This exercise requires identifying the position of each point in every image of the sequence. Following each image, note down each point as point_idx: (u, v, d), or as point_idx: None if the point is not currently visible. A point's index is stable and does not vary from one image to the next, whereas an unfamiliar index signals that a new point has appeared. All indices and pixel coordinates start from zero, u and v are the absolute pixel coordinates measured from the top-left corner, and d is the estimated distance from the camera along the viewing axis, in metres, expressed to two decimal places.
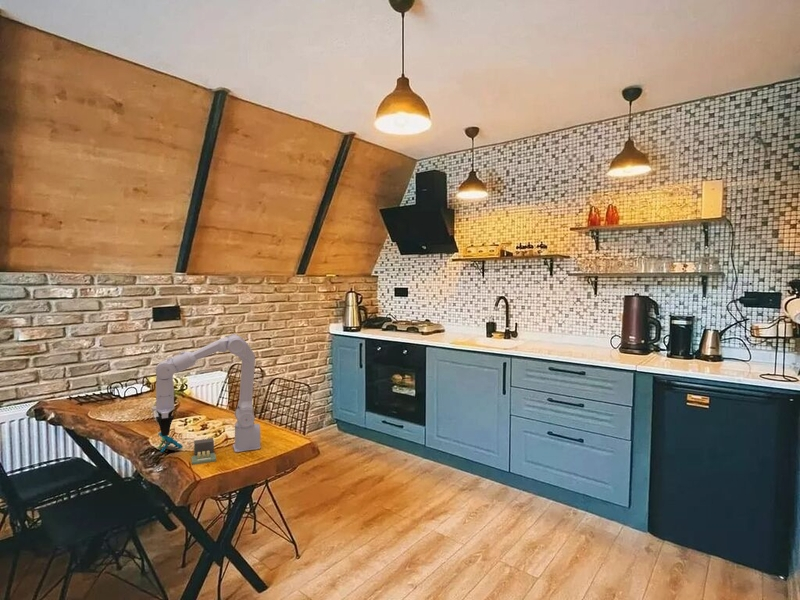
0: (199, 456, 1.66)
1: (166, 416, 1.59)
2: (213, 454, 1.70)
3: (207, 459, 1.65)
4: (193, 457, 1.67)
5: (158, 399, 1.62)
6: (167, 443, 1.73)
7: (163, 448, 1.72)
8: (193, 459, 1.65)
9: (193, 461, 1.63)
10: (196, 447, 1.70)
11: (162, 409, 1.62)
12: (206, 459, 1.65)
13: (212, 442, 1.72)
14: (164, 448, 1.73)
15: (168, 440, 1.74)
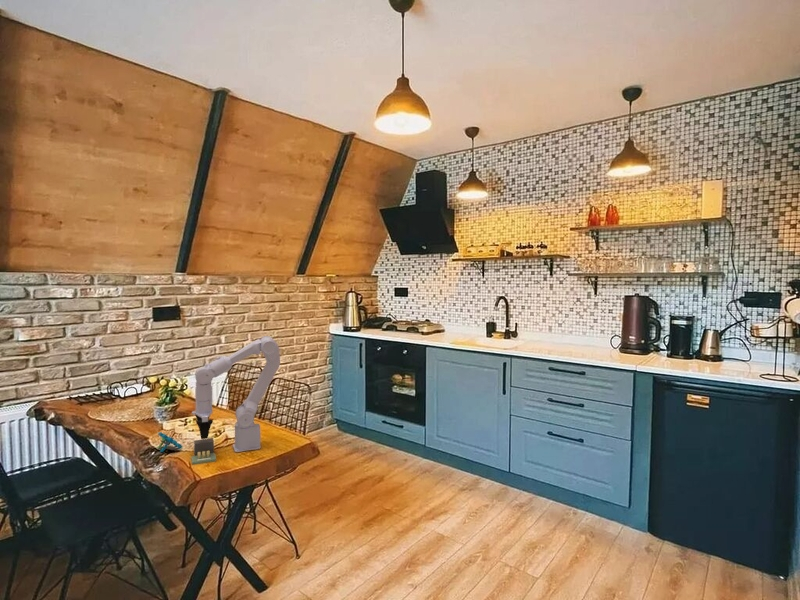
0: (199, 456, 1.66)
1: (206, 420, 1.66)
2: (213, 454, 1.70)
3: (207, 459, 1.65)
4: (193, 457, 1.67)
5: (198, 404, 1.69)
6: (167, 443, 1.73)
7: (163, 448, 1.72)
8: (193, 459, 1.65)
9: (193, 461, 1.63)
10: (196, 447, 1.70)
11: (201, 413, 1.69)
12: (206, 459, 1.65)
13: (212, 442, 1.72)
14: (164, 448, 1.72)
15: (168, 440, 1.74)
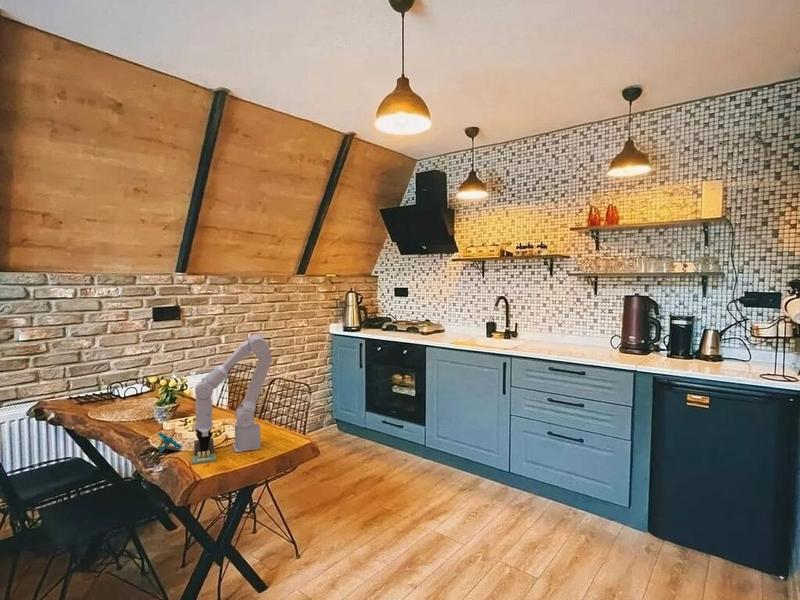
0: (199, 456, 1.66)
1: (206, 434, 1.66)
2: (213, 454, 1.70)
3: (207, 459, 1.65)
4: (193, 457, 1.67)
5: (198, 418, 1.69)
6: (166, 443, 1.73)
7: (162, 448, 1.72)
8: (193, 459, 1.65)
9: (193, 461, 1.63)
10: (196, 447, 1.70)
11: (202, 427, 1.69)
12: (206, 459, 1.65)
13: (212, 442, 1.72)
14: (163, 448, 1.72)
15: (167, 440, 1.73)
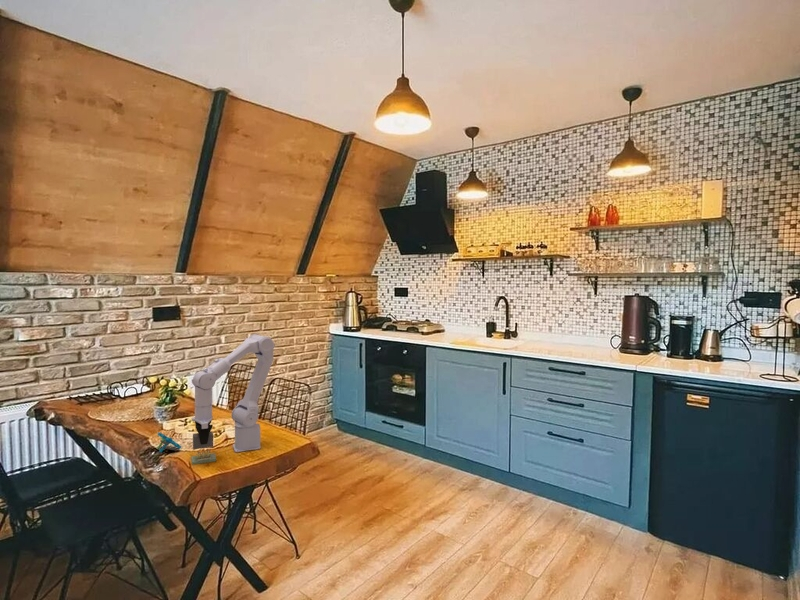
0: (199, 456, 1.66)
1: (206, 427, 1.59)
2: (213, 454, 1.70)
3: (207, 459, 1.65)
4: (193, 457, 1.67)
5: (197, 410, 1.63)
6: (166, 443, 1.73)
7: (162, 448, 1.72)
8: (193, 459, 1.65)
9: (193, 461, 1.63)
10: (195, 440, 1.63)
11: (201, 419, 1.63)
12: (206, 459, 1.65)
13: (211, 435, 1.66)
14: (163, 448, 1.72)
15: (167, 440, 1.73)
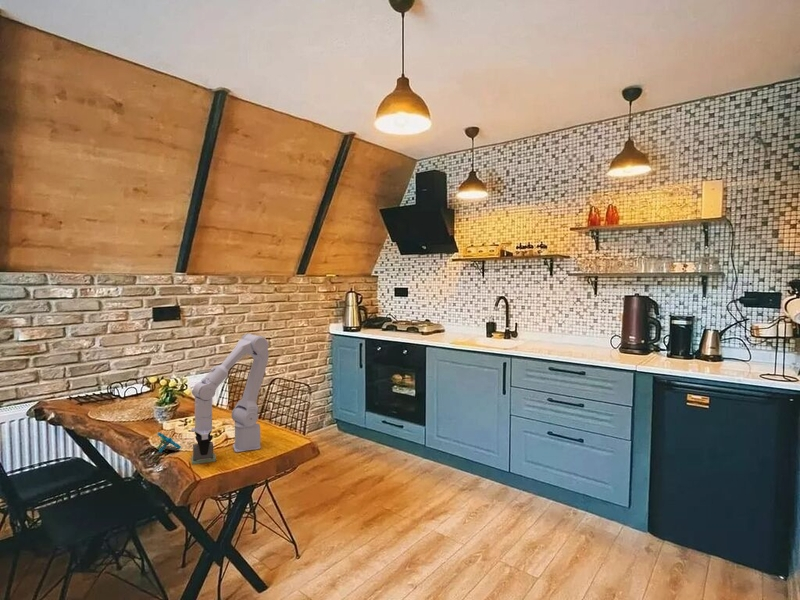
0: None
1: (206, 437, 1.60)
2: (213, 454, 1.70)
3: (207, 459, 1.65)
4: None
5: (197, 420, 1.63)
6: (165, 443, 1.73)
7: (161, 448, 1.72)
8: None
9: (193, 461, 1.63)
10: (195, 451, 1.64)
11: (201, 430, 1.63)
12: (206, 459, 1.65)
13: (211, 446, 1.66)
14: (162, 448, 1.72)
15: (166, 440, 1.73)
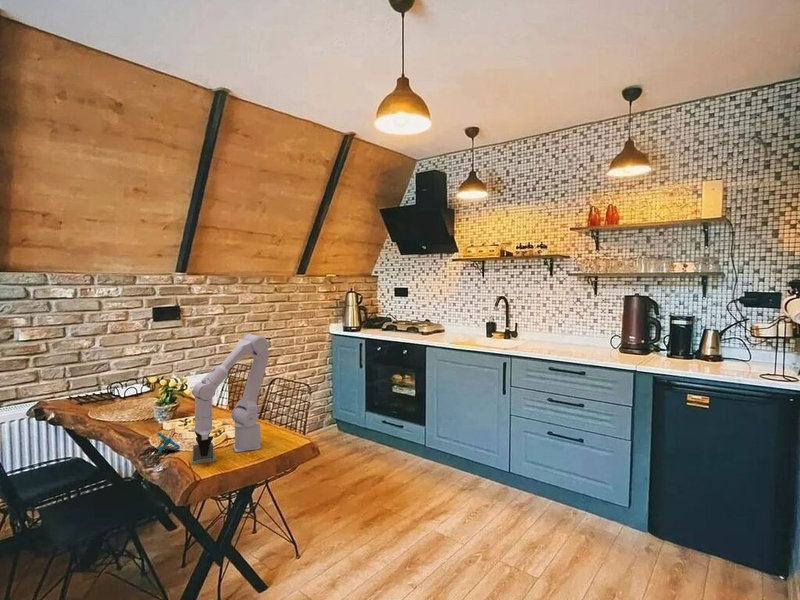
0: None
1: (206, 437, 1.60)
2: (213, 454, 1.70)
3: (207, 459, 1.65)
4: None
5: (197, 421, 1.63)
6: (165, 443, 1.73)
7: (161, 448, 1.72)
8: None
9: (193, 461, 1.63)
10: (195, 452, 1.64)
11: (201, 430, 1.63)
12: (206, 459, 1.65)
13: (211, 446, 1.66)
14: (162, 448, 1.72)
15: (166, 440, 1.73)
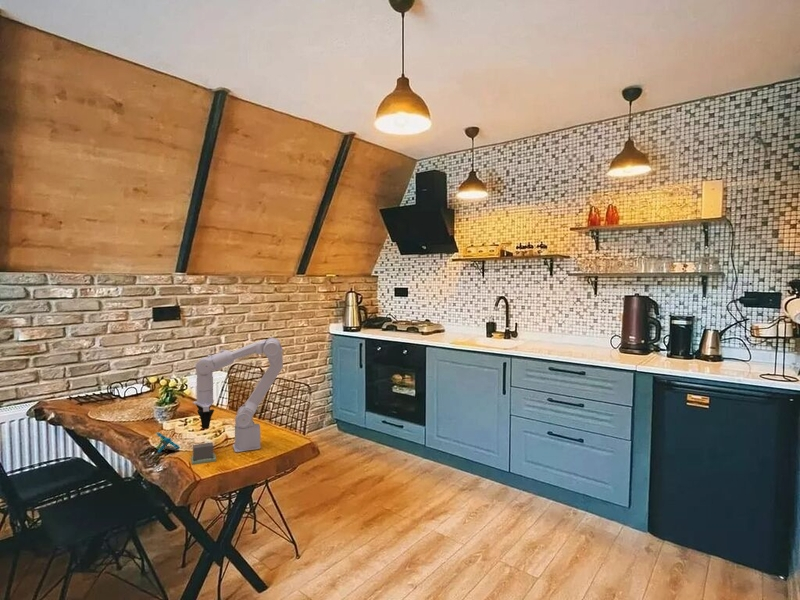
0: None
1: (207, 409, 1.68)
2: (213, 454, 1.70)
3: (207, 459, 1.65)
4: None
5: (199, 394, 1.71)
6: (164, 443, 1.73)
7: (160, 448, 1.72)
8: None
9: (193, 461, 1.63)
10: (195, 452, 1.64)
11: (203, 403, 1.71)
12: (206, 459, 1.65)
13: (211, 446, 1.66)
14: (161, 448, 1.72)
15: (165, 440, 1.73)
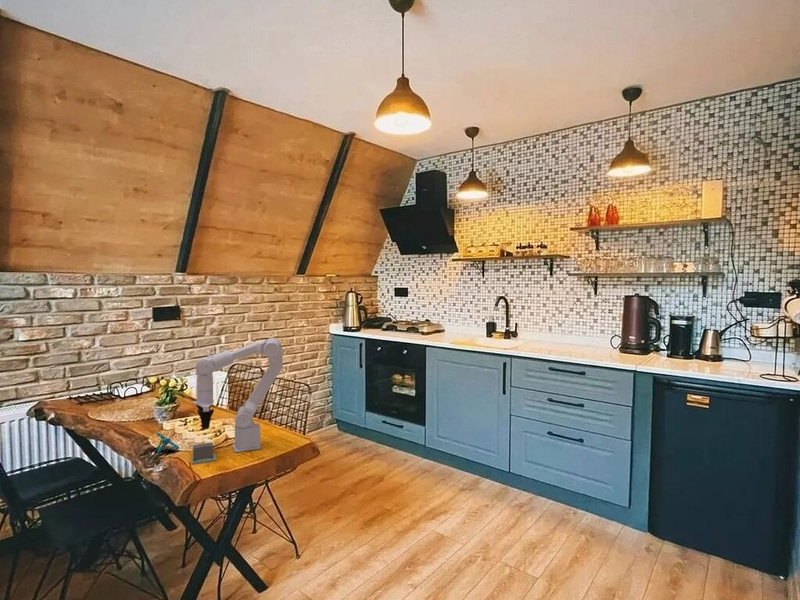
0: None
1: (207, 409, 1.68)
2: (213, 454, 1.70)
3: (207, 459, 1.65)
4: None
5: (199, 394, 1.71)
6: (164, 443, 1.73)
7: (160, 448, 1.72)
8: None
9: (193, 461, 1.63)
10: (195, 452, 1.64)
11: (203, 403, 1.71)
12: (206, 459, 1.65)
13: (211, 446, 1.66)
14: (161, 448, 1.72)
15: (165, 440, 1.73)
